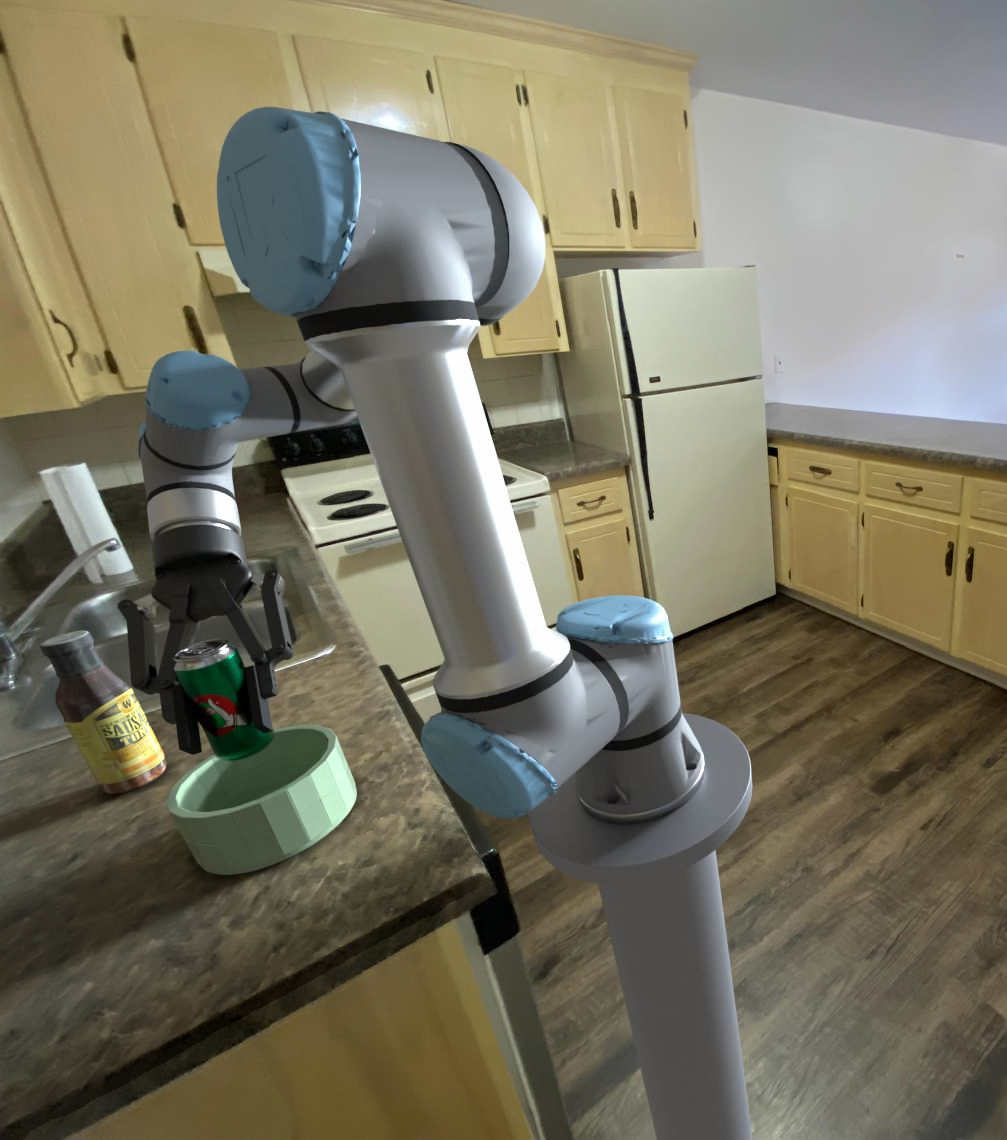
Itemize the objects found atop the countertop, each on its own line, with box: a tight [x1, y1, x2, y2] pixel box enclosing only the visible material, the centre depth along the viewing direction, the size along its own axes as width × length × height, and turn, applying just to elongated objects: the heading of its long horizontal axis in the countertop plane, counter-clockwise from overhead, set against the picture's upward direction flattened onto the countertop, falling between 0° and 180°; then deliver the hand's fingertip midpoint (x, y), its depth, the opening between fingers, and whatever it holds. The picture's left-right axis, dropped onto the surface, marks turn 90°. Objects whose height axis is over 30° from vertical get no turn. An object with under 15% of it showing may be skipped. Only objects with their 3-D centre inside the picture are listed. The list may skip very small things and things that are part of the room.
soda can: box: [172, 638, 275, 761], centre depth 63 cm, size 5×5×12 cm
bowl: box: [165, 724, 358, 876], centre depth 68 cm, size 15×15×8 cm
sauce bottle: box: [39, 630, 168, 795], centre depth 74 cm, size 6×6×20 cm
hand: (228, 739), depth 61 cm, fingers closed on soda can, 5 cm apart
